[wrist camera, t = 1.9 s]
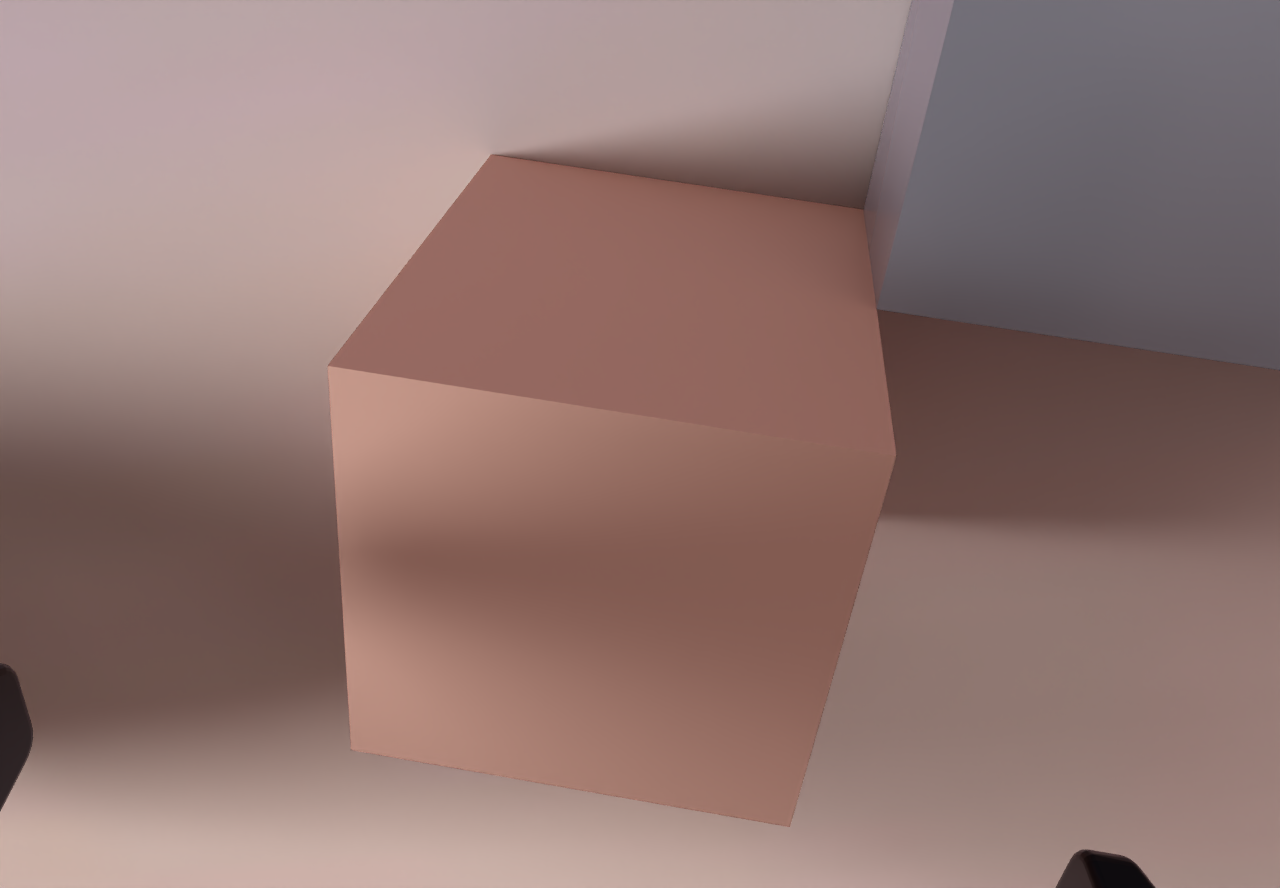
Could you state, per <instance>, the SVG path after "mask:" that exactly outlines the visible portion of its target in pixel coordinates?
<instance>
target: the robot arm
mask: <svg viewBox="0 0 1280 888" xmlns="http://www.w3.org/2000/svg"><path fill="white" fill-rule="evenodd" d="M32 741H33V728H32V724H31V720H30V717H29V714H28V710H27V707H26V704H25V700H24V697H23V694H22V690H21V687H20V683H19V680H18V677H17V675H16V672H15V671H14V670H13V669H12V668H11V667H10V666H8V665H6V664H2V663H0V811H1V809H2V807H3V805H4V803H5V801H6V799H7V797H8V796H9V794H10V792H11V790H12V788H13V786H14V784H15V782H16V780H17V778H18V776H19V774H20V772H21V770H22V768H23V766H24V764H25V762H26V760H27V758H28V756H29V753H30V750H31V746H32ZM1056 888H1155V886H1154V885H1153V884H1152V883H1151V881H1150V880H1149V879H1148V878H1147V876H1146V875H1145V874H1144V872H1143V871H1142V870H1141V869H1140V868H1139V866H1138V865H1137V864H1136V863H1134V862H1133V861H1132V860H1131V859H1129V858H1127V857H1124V856H1121V855H1116V854H1111V853H1105V852H1099V851H1093V850H1080V851H1078V852H1077V853H1075V854H1074V855H1073V857H1072V858H1071V859H1070V861H1069V863H1068V865H1067V867H1066V869H1065V871H1064V873H1063V875H1062V877H1061V878H1060V880H1059V882H1058V884H1057V886H1056Z"/></svg>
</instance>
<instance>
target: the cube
mask: <svg viewBox="0 0 1280 888" xmlns="http://www.w3.org/2000/svg"><path fill="white" fill-rule="evenodd" d="M328 381H329V398H330V414H331V430H332V447H333V463H334V479H335V496H336V512H337V528H338V545H339V561H340V577H341V594H342V610H343V626H344V643H345V659H346V675H347V692H348V708H349V724H350V741H351V750H354V751H360V752H365V753H371V754H377V755H383V756H388V757H394V758H400V759H405V760H411V761H417V762H422V763H428V764H434V765H440V766H445V767H451V768H457V769H462V770H468V771H474V772H479V773H485V774H491V775H497V776H502V777H508V778H514V779H519V780H525V781H531V782H536V783H542V784H548V785H554V786H559V787H565V788H571V789H576V790H582V791H588V792H593V793H599V794H605V795H611V796H616V797H622V798H628V799H633V800H639V801H645V802H650V803H656V804H662V805H668V806H673V807H679V808H685V809H690V810H696V811H702V812H707V813H713V814H719V815H725V816H730V817H736V818H742V819H747V820H753V821H759V822H764V823H770V824H776V825H782V826H787V827H790V825H791V821H792V818H793V814H794V811H795V807H796V804H797V800H798V797H799V793H800V790H801V786H802V783H803V779H804V776H805V772H806V769H807V765H808V762H809V759H810V755H811V752H812V748H813V745H814V741H815V738H816V734H817V731H818V727H819V724H820V720H821V717H822V713H823V710H824V706H825V703H826V699H827V696H828V693H829V689H830V686H831V682H832V679H833V675H834V672H835V668H836V665H837V661H838V658H839V654H840V651H841V647H842V644H843V640H844V637H845V633H846V630H847V627H848V623H849V620H850V616H851V613H852V609H853V606H854V602H855V599H856V595H857V592H858V588H859V585H860V581H861V578H862V574H863V571H864V567H865V564H866V560H867V557H868V554H869V550H870V547H871V543H872V540H873V536H874V533H875V529H876V526H877V522H878V519H879V515H880V512H881V508H882V505H883V501H884V498H885V494H886V491H887V488H888V484H889V481H890V477H891V474H892V470H893V467H894V463H895V460H896V456H897V455H896V448H895V441H894V433H893V426H892V418H891V411H890V404H889V396H888V389H887V381H886V374H885V367H884V359H883V352H882V344H881V337H880V330H879V322H878V315H877V309H876V302H875V294H874V287H873V279H872V272H871V264H870V257H869V249H868V242H867V234H866V226H865V219H864V211H863V209H856V208H850V207H843V206H836V205H829V204H822V203H816V202H809V201H802V200H795V199H789V198H782V197H775V196H768V195H762V194H755V193H748V192H741V191H735V190H728V189H721V188H714V187H707V186H701V185H694V184H687V183H680V182H674V181H667V180H660V179H653V178H647V177H640V176H633V175H626V174H620V173H613V172H606V171H599V170H592V169H586V168H579V167H572V166H565V165H559V164H552V163H545V162H538V161H532V160H525V159H518V158H511V157H505V156H498V155H490V157H489V158H488V159H487V161H486V162H485V163H484V164H483V166H482V167H481V168H480V170H479V171H478V172H477V173H476V175H475V176H474V177H473V179H472V180H471V181H470V183H469V184H468V185H467V186H466V188H465V189H464V190H463V192H462V193H461V194H460V195H459V197H458V198H457V199H456V201H455V202H454V203H453V204H452V206H451V207H450V208H449V210H448V211H447V212H446V214H445V215H444V216H443V217H442V219H441V220H440V221H439V223H438V224H437V225H436V226H435V228H434V229H433V230H432V232H431V233H430V234H429V235H428V237H427V238H426V239H425V241H424V242H423V243H422V245H421V246H420V247H419V248H418V250H417V251H416V252H415V254H414V255H413V256H412V257H411V259H410V260H409V261H408V263H407V264H406V265H405V266H404V268H403V269H402V270H401V272H400V273H399V274H398V276H397V277H396V278H395V279H394V281H393V282H392V283H391V285H390V286H389V287H388V288H387V290H386V291H385V292H384V294H383V295H382V296H381V298H380V299H379V300H378V301H377V303H376V304H375V305H374V307H373V308H372V309H371V310H370V312H369V313H368V314H367V316H366V317H365V318H364V319H363V321H362V322H361V323H360V325H359V326H358V327H357V329H356V330H355V331H354V332H353V334H352V335H351V336H350V338H349V339H348V340H347V341H346V343H345V344H344V345H343V347H342V348H341V349H340V350H339V352H338V353H337V354H336V356H335V357H334V358H333V360H332V361H331V362H330V363H329V365H328Z"/></svg>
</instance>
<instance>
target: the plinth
mask: <svg viewBox="0 0 1280 888" xmlns="http://www.w3.org/2000/svg"><path fill="white" fill-rule="evenodd" d="M863 211H864V219H865V226H866V234H867V242H868V249H869V257H870V264H871V272H872V279H873V287H874V294H875V302H876V309H878V310H884V311H891V312H898V313H904V314H911V315H917V316H924V317H931V318H937V319H944V320H950V321H957V322H964V323H970V324H977V325H984V326H990V327H997V328H1003V329H1010V330H1017V331H1023V332H1030V333H1036V334H1043V335H1050V336H1056V337H1063V338H1070V339H1076V340H1083V341H1089V342H1096V343H1103V344H1109V345H1116V346H1122V347H1129V348H1136V349H1142V350H1149V351H1156V352H1162V353H1169V354H1175V355H1182V356H1189V357H1195V358H1202V359H1208V360H1215V361H1222V362H1228V363H1235V364H1242V365H1248V366H1255V367H1261V368H1268V369H1275V370H1280V0H912V2H911V6H910V11H909V15H908V19H907V24H906V28H905V32H904V37H903V41H902V45H901V50H900V54H899V58H898V63H897V67H896V71H895V76H894V80H893V84H892V89H891V93H890V97H889V102H888V106H887V110H886V115H885V119H884V123H883V128H882V132H881V136H880V141H879V145H878V149H877V154H876V158H875V162H874V167H873V171H872V175H871V180H870V184H869V188H868V193H867V197H866V201H865V206H864V210H863Z"/></svg>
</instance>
